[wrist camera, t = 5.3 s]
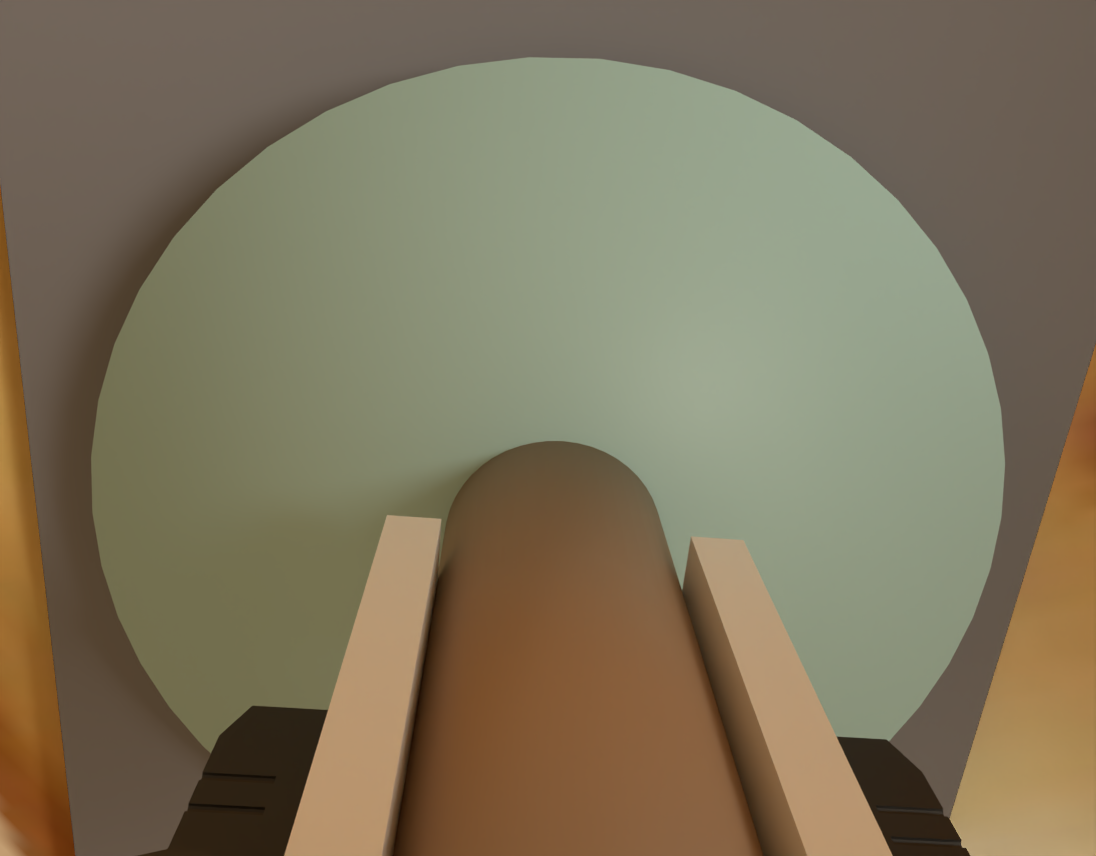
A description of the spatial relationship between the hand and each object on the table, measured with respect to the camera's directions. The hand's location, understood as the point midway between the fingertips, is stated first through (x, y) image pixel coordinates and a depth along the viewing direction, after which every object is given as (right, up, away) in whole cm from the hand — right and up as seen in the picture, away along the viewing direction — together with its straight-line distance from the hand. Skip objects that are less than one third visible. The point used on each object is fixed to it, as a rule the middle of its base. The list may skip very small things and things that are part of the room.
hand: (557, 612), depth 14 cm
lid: (0, +1, +3) cm, 3 cm away
